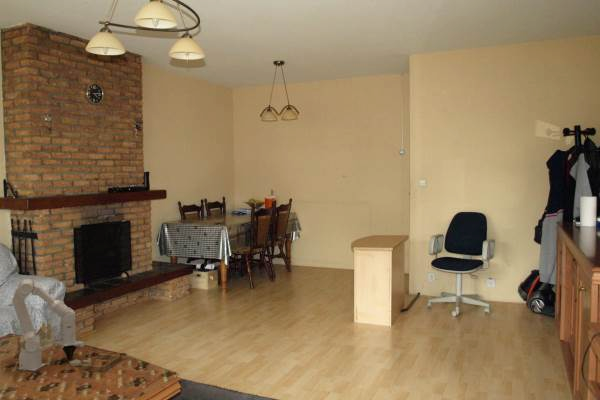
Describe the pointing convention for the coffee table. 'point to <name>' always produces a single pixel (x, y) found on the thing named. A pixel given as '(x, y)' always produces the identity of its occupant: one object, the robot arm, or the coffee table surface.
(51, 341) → the ceramic cottage
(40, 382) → the coffee table surface
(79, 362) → the lighter
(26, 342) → the robot arm
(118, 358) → the holder
